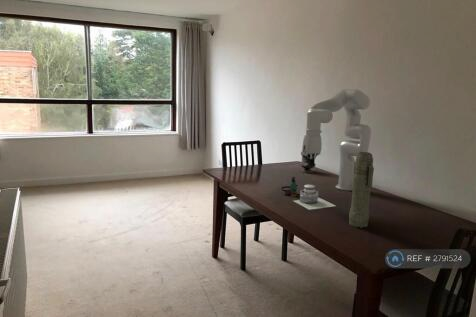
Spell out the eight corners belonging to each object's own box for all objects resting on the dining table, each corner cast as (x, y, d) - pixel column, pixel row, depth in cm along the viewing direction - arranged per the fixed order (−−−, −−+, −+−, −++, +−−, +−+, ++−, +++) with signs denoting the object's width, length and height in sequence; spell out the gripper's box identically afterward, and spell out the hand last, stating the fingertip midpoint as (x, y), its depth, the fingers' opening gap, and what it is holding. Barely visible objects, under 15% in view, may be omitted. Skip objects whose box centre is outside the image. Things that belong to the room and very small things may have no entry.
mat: (318, 198, 211) (318, 197, 211) (336, 206, 197) (336, 205, 197) (292, 201, 204) (292, 200, 204) (308, 210, 189) (309, 209, 189)
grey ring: (310, 197, 210) (311, 188, 209) (321, 203, 201) (321, 193, 200) (296, 199, 206) (296, 190, 205) (306, 205, 197) (306, 195, 196)
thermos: (360, 230, 164) (367, 155, 157) (342, 221, 175) (348, 151, 168) (374, 227, 168) (382, 154, 161) (356, 219, 179) (363, 150, 172)
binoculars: (281, 176, 220) (297, 176, 218) (282, 193, 222) (298, 193, 220) (280, 180, 211) (297, 179, 209) (281, 197, 213) (297, 197, 211)
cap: (310, 192, 206) (311, 184, 205) (316, 195, 201) (317, 187, 200) (301, 193, 204) (302, 185, 203) (307, 196, 199) (308, 188, 198)
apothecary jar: (316, 173, 272) (318, 150, 268) (300, 173, 272) (302, 149, 268) (313, 169, 284) (314, 147, 280) (298, 169, 284) (299, 147, 280)
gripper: (320, 131, 202) (318, 163, 206) (297, 132, 196) (296, 165, 200) (328, 133, 195) (326, 165, 199) (305, 134, 189) (303, 168, 193)
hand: (311, 165), depth 199 cm, fingers closed
